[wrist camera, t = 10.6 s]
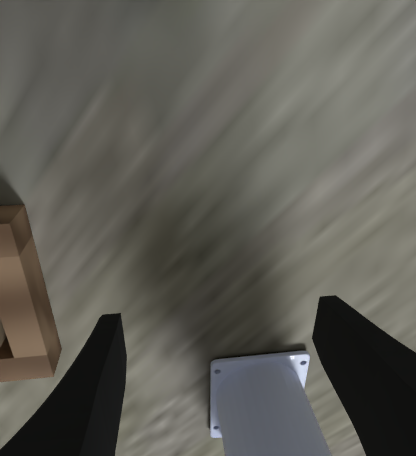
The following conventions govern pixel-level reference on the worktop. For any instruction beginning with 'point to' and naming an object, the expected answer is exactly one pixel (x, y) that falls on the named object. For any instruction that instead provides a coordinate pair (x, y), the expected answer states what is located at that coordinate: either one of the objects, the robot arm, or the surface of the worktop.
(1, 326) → the peg
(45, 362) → the holder
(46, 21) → the worktop surface
